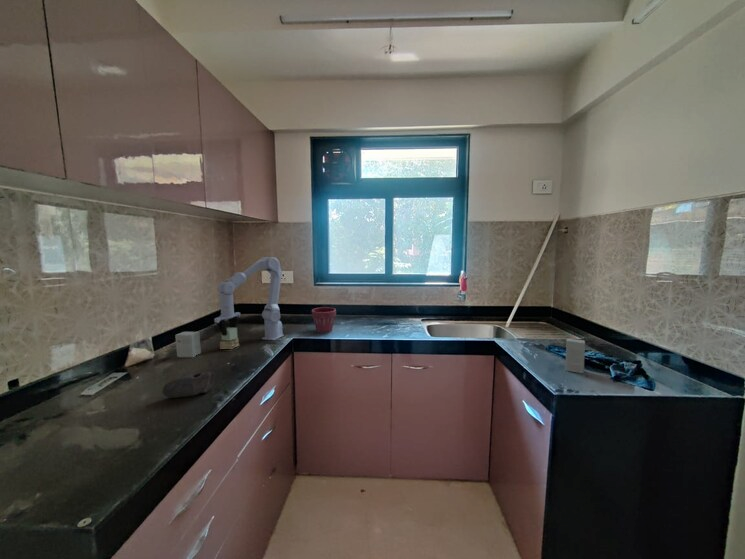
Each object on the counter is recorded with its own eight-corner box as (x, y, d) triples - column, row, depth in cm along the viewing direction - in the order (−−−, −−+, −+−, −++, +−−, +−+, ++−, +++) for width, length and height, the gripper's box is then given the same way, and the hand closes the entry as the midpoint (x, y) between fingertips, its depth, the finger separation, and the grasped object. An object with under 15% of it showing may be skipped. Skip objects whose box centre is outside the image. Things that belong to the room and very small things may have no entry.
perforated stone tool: (160, 403, 96) (158, 382, 95) (165, 395, 100) (163, 375, 100) (213, 394, 101) (212, 374, 100) (215, 388, 106) (214, 369, 105)
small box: (201, 353, 141) (199, 331, 140) (193, 357, 135) (191, 335, 134) (185, 353, 142) (183, 331, 141) (176, 357, 136) (174, 334, 135)
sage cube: (229, 336, 151) (228, 327, 151) (237, 337, 150) (236, 327, 149) (221, 339, 147) (220, 329, 146) (229, 340, 145) (229, 330, 144)
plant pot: (334, 334, 171) (334, 311, 169) (310, 334, 171) (309, 312, 169) (337, 327, 185) (337, 307, 184) (314, 327, 185) (314, 307, 183)
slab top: (227, 342, 152) (227, 338, 151) (238, 342, 151) (238, 338, 151) (220, 346, 146) (220, 341, 145) (232, 346, 145) (232, 342, 145)
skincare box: (583, 370, 117) (585, 340, 116) (583, 374, 114) (585, 343, 113) (565, 366, 121) (566, 337, 120) (564, 370, 117) (566, 340, 116)
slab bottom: (229, 346, 152) (229, 342, 152) (239, 347, 150) (238, 343, 150) (220, 350, 146) (220, 346, 146) (230, 351, 145) (230, 347, 144)
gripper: (231, 303, 155) (233, 329, 156) (208, 308, 141) (210, 337, 142) (243, 304, 152) (244, 330, 154) (220, 309, 139) (222, 338, 140)
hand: (228, 333), depth 148 cm, fingers open, 5 cm apart
